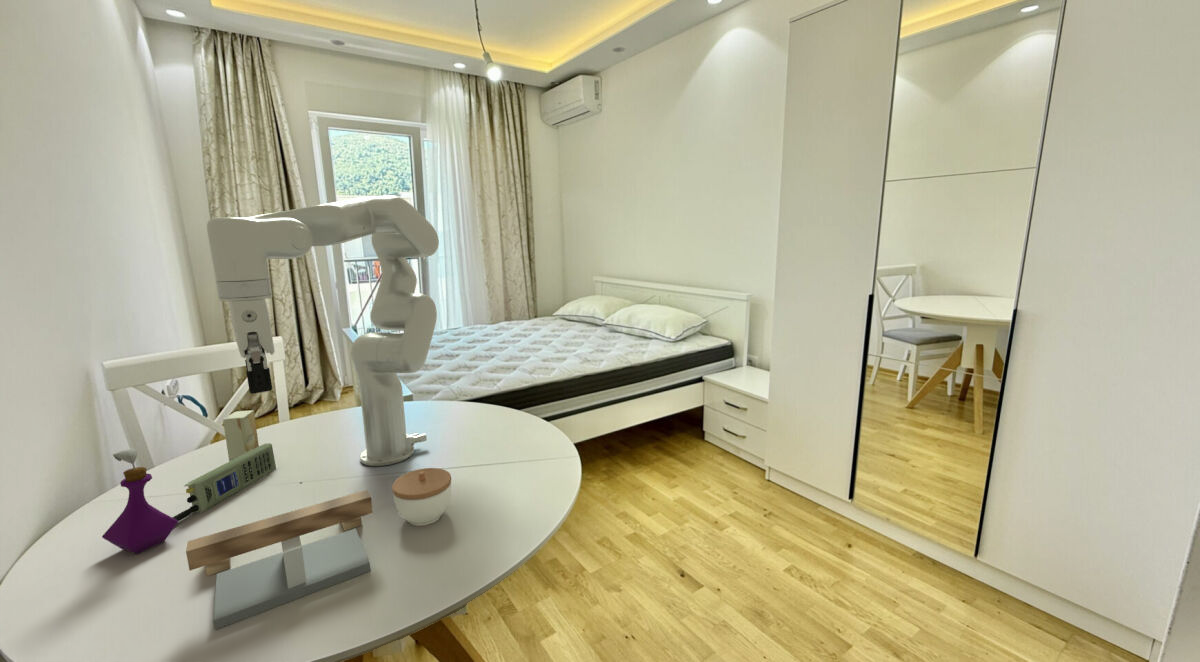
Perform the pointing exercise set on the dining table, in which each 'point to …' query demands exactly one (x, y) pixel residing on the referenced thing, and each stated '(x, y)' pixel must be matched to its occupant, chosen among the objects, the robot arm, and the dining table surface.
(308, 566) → the stand
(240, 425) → the skincare box
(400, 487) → the lidded jar
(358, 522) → the bar rest
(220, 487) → the handheld radio
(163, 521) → the purple potion bottle
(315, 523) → the walnut bar
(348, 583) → the dining table surface
